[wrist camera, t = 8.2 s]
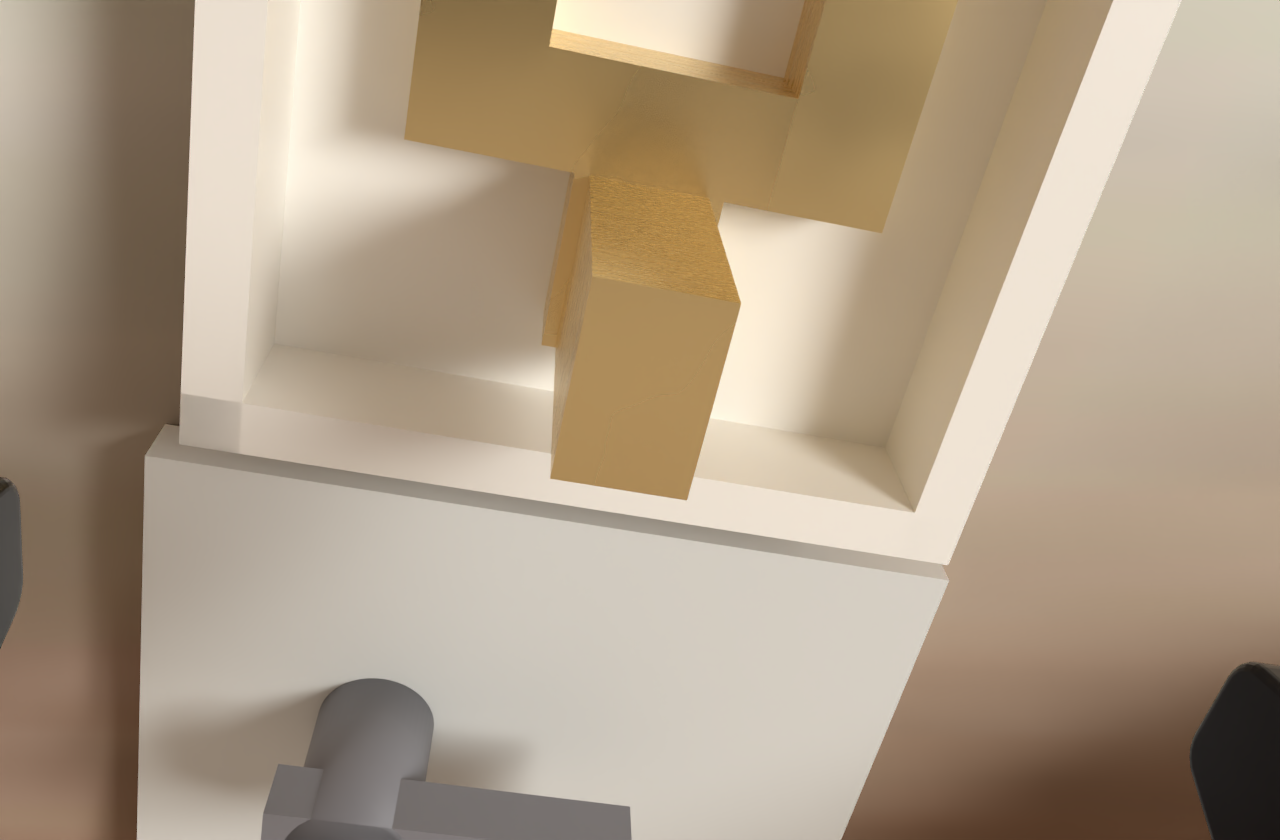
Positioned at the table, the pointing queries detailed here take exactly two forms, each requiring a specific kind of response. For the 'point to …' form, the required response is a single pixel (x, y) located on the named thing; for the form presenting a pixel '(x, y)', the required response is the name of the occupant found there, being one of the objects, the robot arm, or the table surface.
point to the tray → (525, 247)
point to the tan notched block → (668, 191)
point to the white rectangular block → (498, 664)
